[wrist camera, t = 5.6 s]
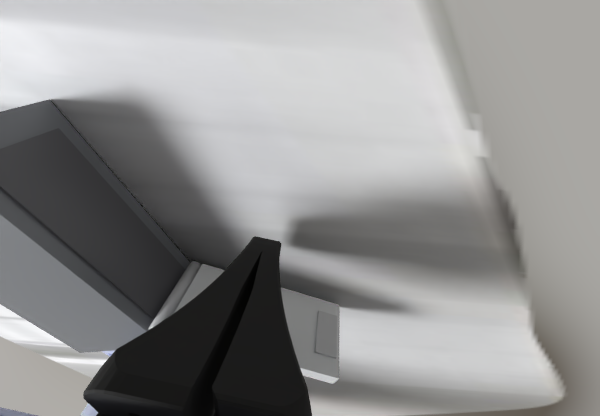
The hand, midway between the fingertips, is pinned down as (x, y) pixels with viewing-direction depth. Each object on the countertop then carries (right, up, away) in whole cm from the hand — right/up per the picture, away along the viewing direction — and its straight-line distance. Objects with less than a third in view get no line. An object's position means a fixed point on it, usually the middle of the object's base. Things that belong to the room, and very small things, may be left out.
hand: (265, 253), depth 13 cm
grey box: (-10, +1, +2) cm, 11 cm away
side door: (0, -3, +3) cm, 4 cm away
